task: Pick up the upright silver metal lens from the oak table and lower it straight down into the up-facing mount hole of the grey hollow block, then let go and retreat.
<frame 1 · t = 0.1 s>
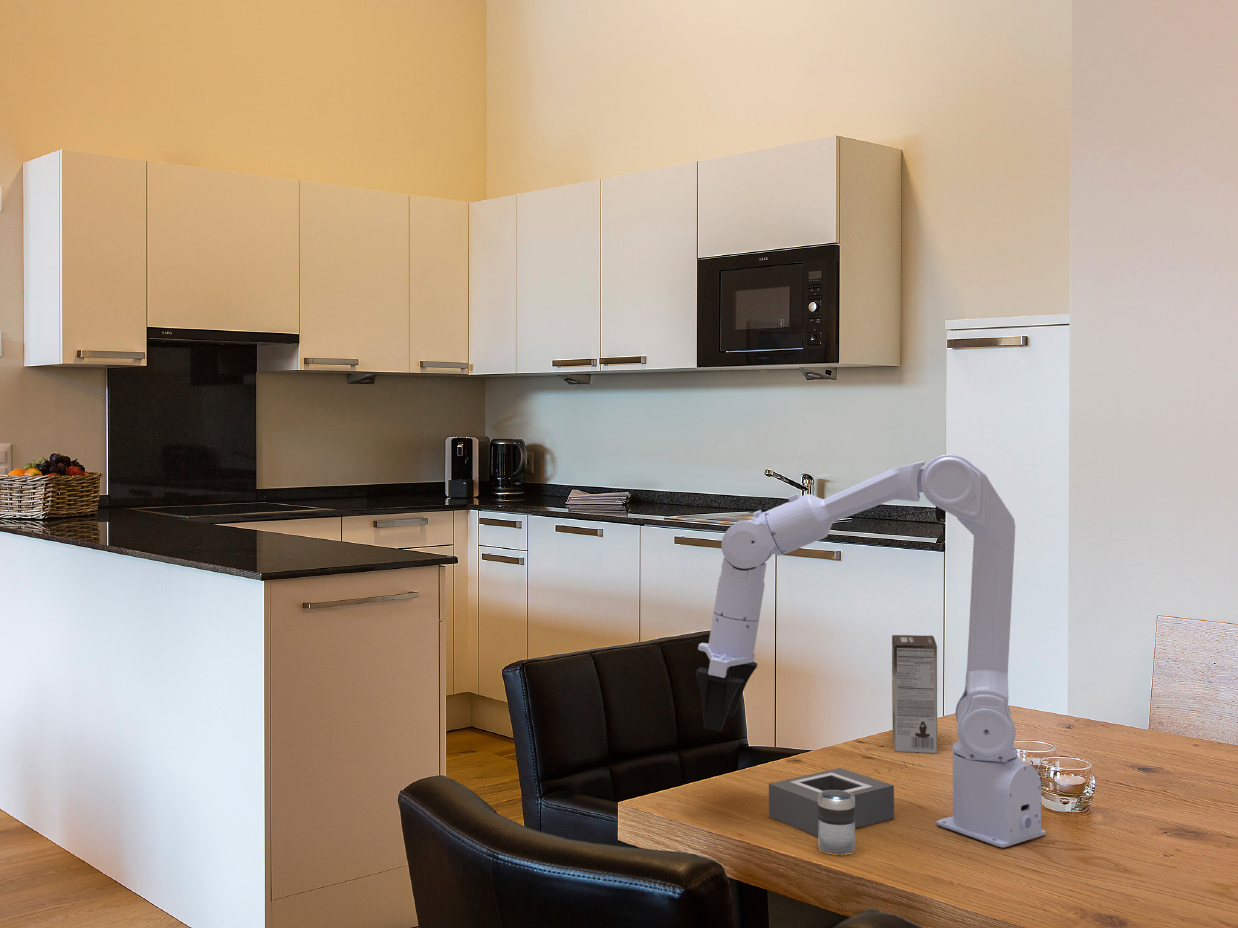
hand: (719, 722, 135), 11 cm above the table, tool pointing down, fingers open, 7 cm apart
coffee box: (914, 746, 164), on the table
grey hollow block: (831, 817, 131), on the table
lens: (836, 849, 120), on the table
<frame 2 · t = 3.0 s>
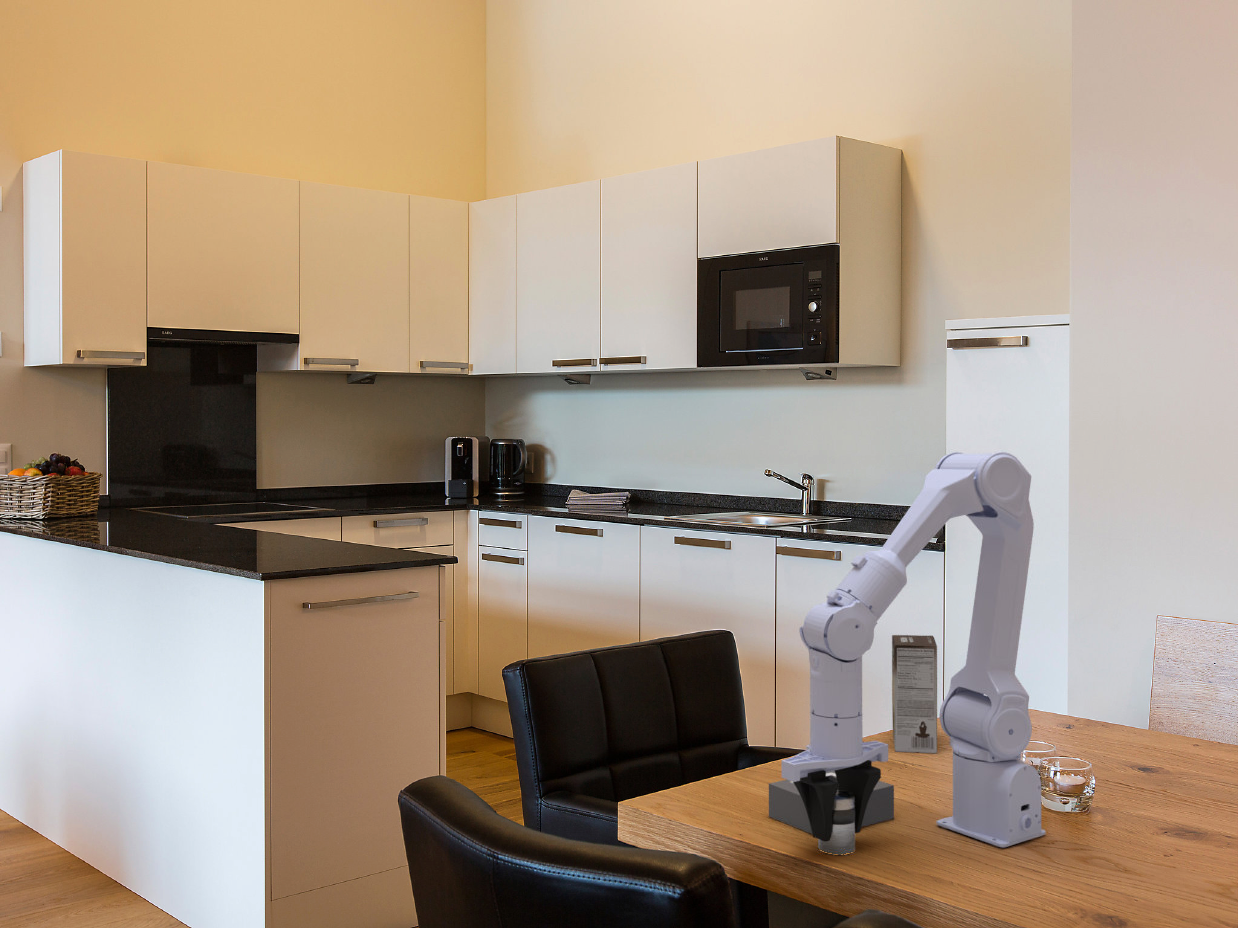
hand: (836, 834, 120), 2 cm above the table, tool pointing down, fingers closed on lens, 4 cm apart
lens: (836, 848, 120), on the table, touching gripper
everything else where it was.
when the fingers open (5 cm above the table, at t = 6.5 s): lens drops 3 cm, resting in grey hollow block.
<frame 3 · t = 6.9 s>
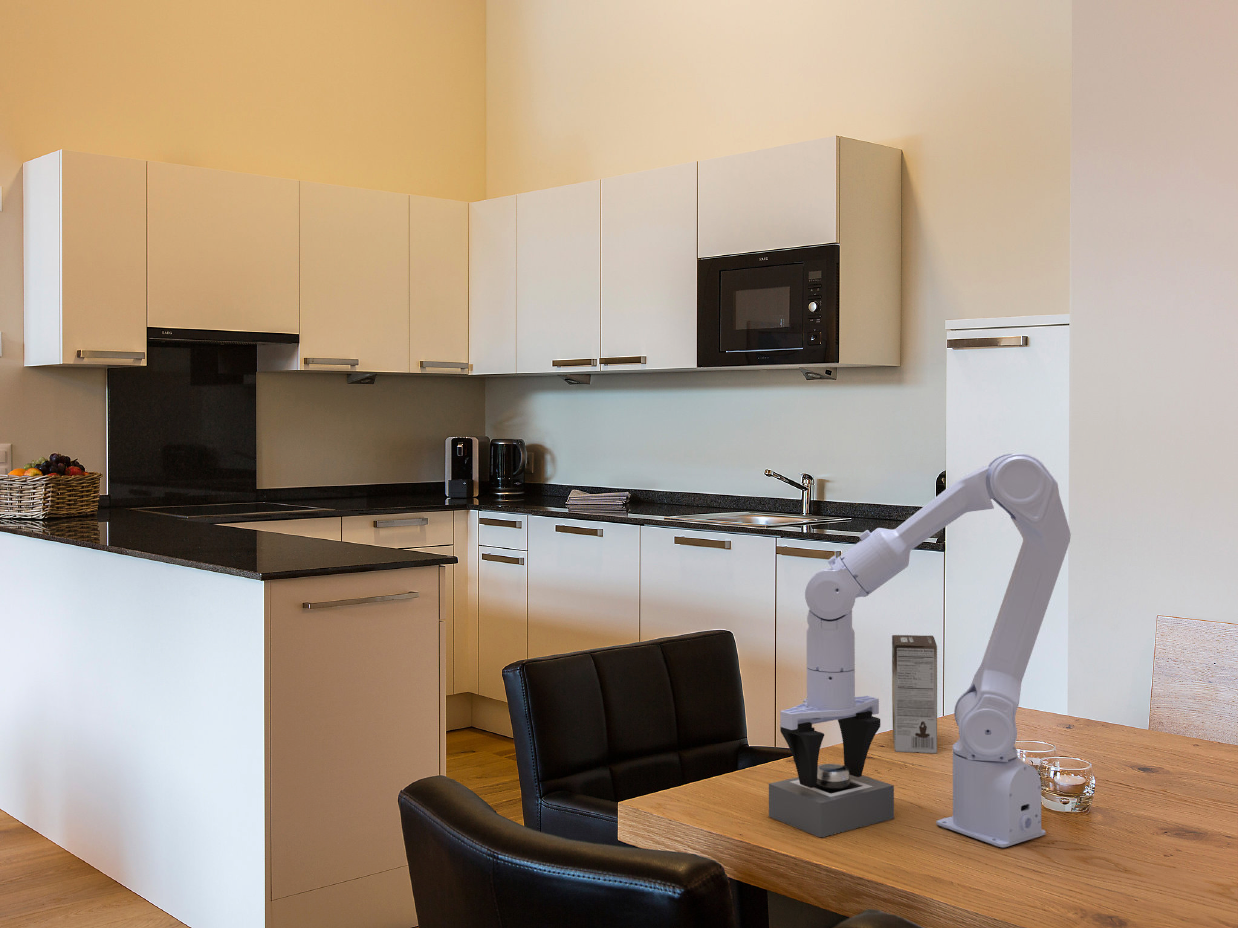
hand: (831, 780, 131), 5 cm above the table, tool pointing down, fingers open, 7 cm apart
lens: (832, 817, 131), resting in grey hollow block
everything else where it was.
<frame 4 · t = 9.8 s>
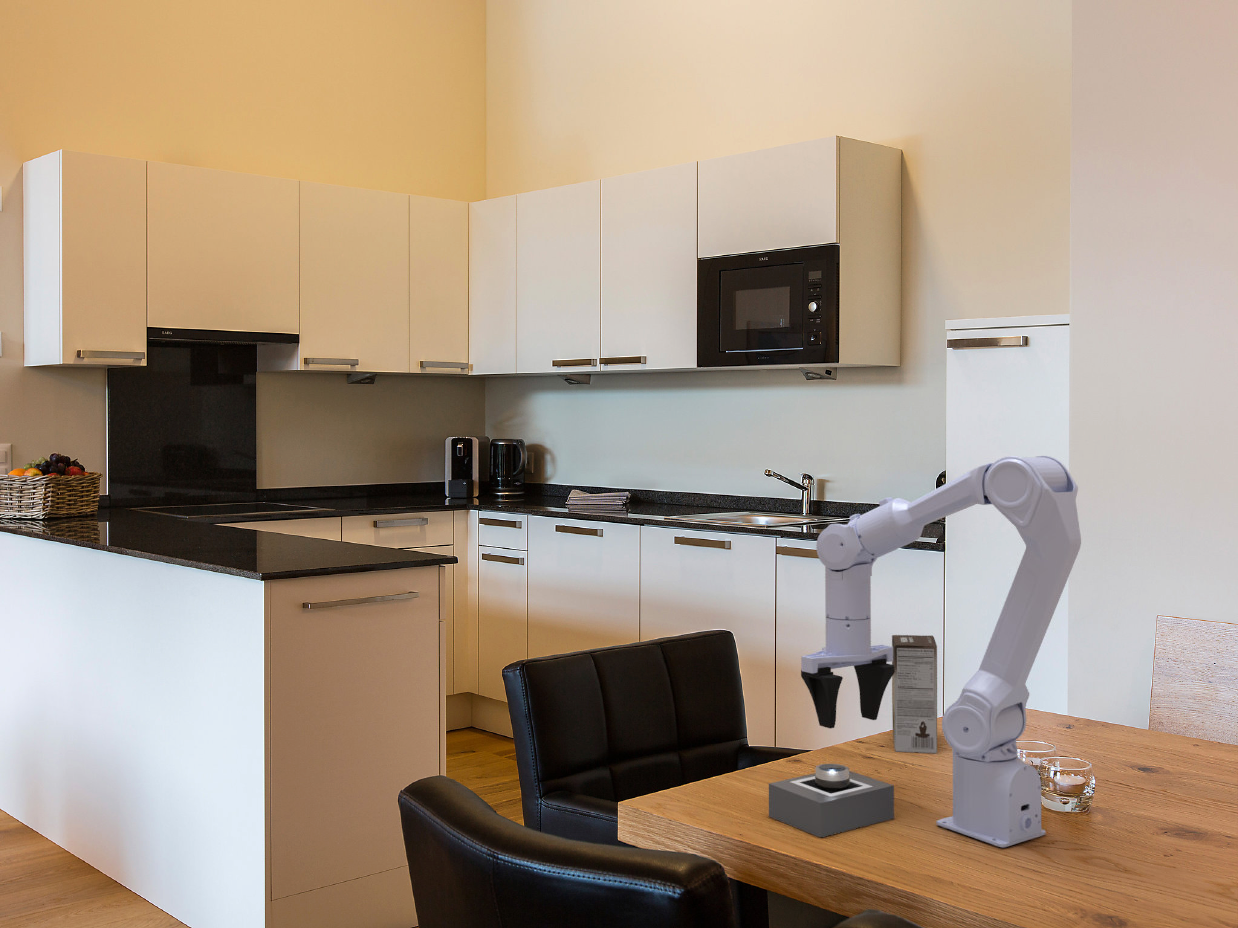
hand: (848, 722, 139), 9 cm above the table, tool pointing down, fingers open, 7 cm apart
nothing on the table moved.
at the end: lens 0.2 cm off-centre on the grey hollow block, point 0.0 cm above the grey hollow block's base; lens tilted 1°; the gripper is holding nothing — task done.
